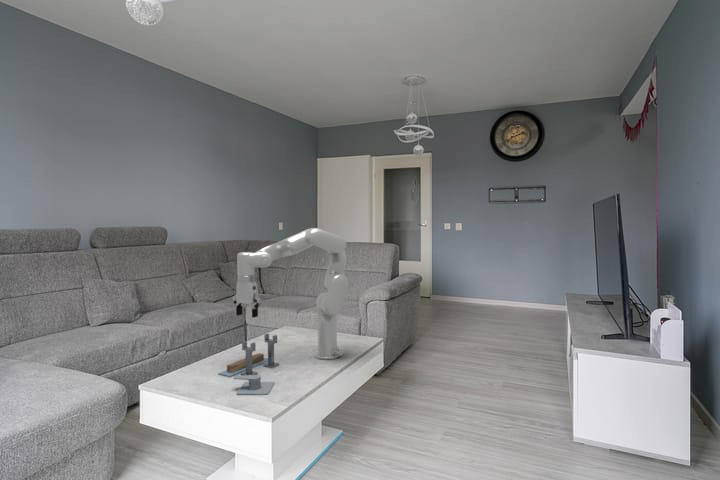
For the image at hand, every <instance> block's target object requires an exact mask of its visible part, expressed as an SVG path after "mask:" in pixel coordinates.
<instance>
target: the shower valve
mask: <svg viewBox="0 0 720 480" xmlns="http://www.w3.org/2000/svg"><path fill="white" fill-rule="evenodd" d="M261 377H262V376H261V375H259V374H258V375H241V374H240V375H234V376H233V377H232V378H233V380H240V381H241V380H243V381H245V382H244V383H243V384H242V385H241V387H239V389H238V390H237V392H236V395H237V396H268V395H269V394H270V393H271V391H272V389H273V387H274V385H275V381H262V380H261ZM246 380H247V381H246Z"/></svg>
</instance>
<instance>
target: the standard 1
mask: <svg viewBox="0 0 720 480" xmlns="http://www.w3.org/2000/svg"><path fill="white" fill-rule="evenodd" d="M241 351H245V358H246V371H244V372H242V373H240V376H241V375H259V374H258V371H253V368H252V356H253V352H255V351H256V342H251V343H250V346H248V341H247V340H243V341H241Z"/></svg>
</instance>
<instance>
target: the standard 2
mask: <svg viewBox="0 0 720 480" xmlns="http://www.w3.org/2000/svg"><path fill="white" fill-rule="evenodd" d="M263 339H264V343H267V358H268V362H266V363H263V364H262V365H263V367H264V368H269V369H273V368H275V367H276V368H277V367H278V366H280V363H279V362H275V344H277V343H278V335H277V334H274V335H272V339H270V333H265V334H264V337H263Z"/></svg>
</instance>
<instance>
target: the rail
mask: <svg viewBox="0 0 720 480" xmlns="http://www.w3.org/2000/svg"><path fill="white" fill-rule="evenodd" d="M264 358H265V354H264V353H260V352H259V353H256V354H252V365H253V364H256V363H258V362H261V361H263V360H264ZM243 368H246V357H245V358H243V359H240V360H237V361H234V362H232V363H228V364H227V365H226V370H227V372H229V373H234V372H236V371H238V370H241V369H243Z"/></svg>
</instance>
